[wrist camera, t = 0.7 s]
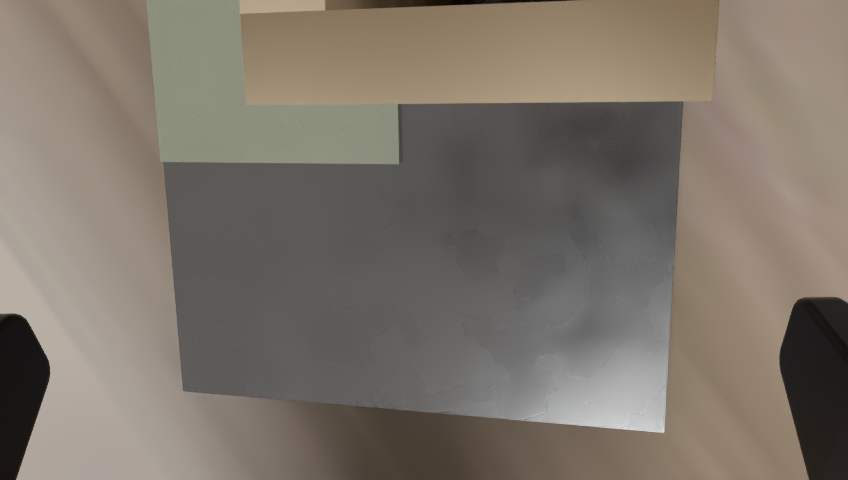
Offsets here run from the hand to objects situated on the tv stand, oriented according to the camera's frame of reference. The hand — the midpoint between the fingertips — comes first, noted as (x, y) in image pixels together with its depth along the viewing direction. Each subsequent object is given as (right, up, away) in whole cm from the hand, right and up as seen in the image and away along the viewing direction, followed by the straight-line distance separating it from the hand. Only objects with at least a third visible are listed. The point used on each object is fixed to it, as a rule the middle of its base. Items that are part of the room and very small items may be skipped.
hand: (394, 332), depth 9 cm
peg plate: (0, +4, +15) cm, 15 cm away
